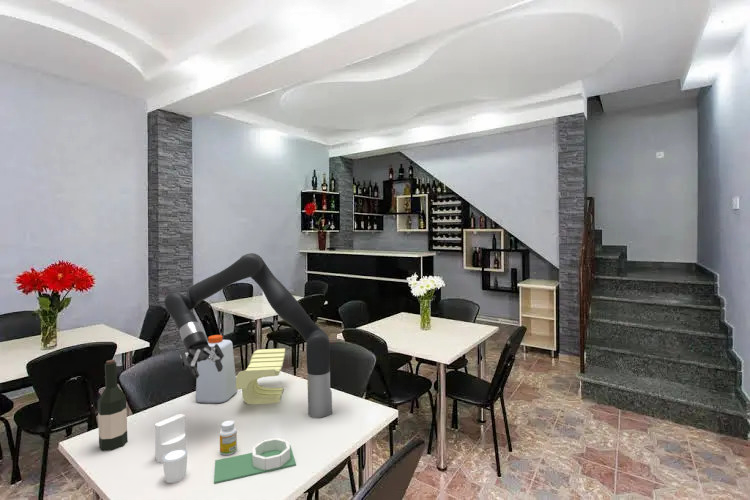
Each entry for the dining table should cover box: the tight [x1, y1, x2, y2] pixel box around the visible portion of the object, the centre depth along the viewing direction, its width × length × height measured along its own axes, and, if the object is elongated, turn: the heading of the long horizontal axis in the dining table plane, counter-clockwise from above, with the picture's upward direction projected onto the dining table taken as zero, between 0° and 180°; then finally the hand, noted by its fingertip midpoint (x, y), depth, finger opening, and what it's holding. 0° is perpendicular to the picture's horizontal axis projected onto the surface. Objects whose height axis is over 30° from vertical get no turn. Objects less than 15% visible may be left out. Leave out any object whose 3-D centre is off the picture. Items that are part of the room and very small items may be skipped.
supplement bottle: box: [219, 419, 238, 456], centre depth 130 cm, size 5×5×10 cm
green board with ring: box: [213, 437, 297, 485], centre depth 122 cm, size 24×12×4 cm, turn 111°
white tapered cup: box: [162, 449, 188, 484], centre depth 116 cm, size 7×7×7 cm
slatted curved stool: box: [236, 348, 286, 405], centre depth 173 cm, size 30×16×18 cm, turn 5°
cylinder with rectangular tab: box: [154, 413, 187, 464], centre depth 128 cm, size 9×9×12 cm
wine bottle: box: [97, 359, 129, 452], centre depth 134 cm, size 8×8×30 cm
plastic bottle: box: [195, 334, 238, 404], centre depth 174 cm, size 15×15×28 cm
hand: (209, 373), depth 136 cm, fingers open, 8 cm apart
